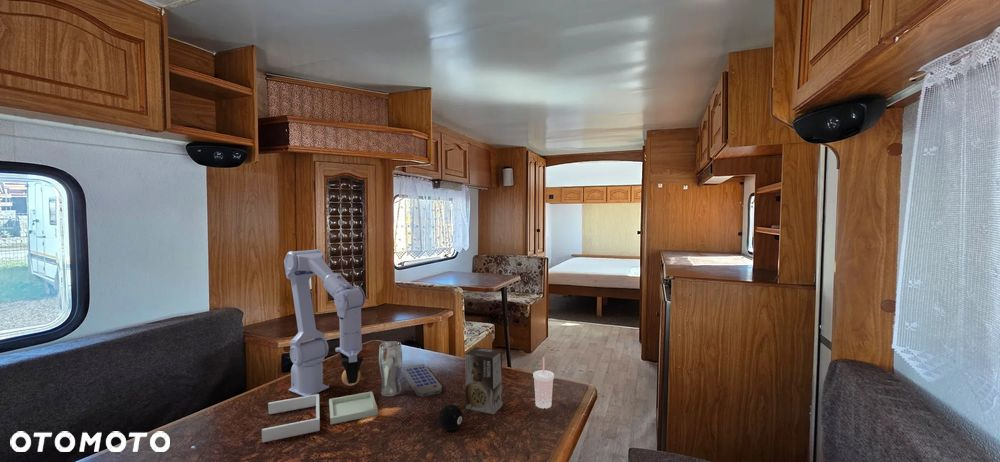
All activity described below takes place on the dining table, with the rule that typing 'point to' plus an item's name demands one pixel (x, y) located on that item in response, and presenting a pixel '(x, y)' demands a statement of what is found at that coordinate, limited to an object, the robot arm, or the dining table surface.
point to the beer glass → (390, 367)
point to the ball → (345, 381)
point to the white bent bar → (296, 427)
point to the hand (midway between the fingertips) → (351, 378)
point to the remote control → (422, 380)
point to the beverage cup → (543, 387)
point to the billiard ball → (450, 417)
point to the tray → (352, 407)
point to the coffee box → (483, 380)
